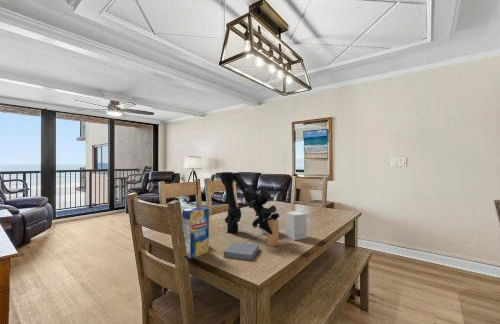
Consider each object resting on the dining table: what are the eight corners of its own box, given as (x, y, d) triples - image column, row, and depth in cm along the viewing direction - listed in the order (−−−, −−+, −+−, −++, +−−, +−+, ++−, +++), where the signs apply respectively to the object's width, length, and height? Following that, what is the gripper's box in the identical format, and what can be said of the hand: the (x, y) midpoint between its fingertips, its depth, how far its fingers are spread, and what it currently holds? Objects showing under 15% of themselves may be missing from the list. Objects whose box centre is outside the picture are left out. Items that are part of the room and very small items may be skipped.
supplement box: (307, 238, 137) (307, 213, 137) (294, 240, 133) (294, 215, 133) (298, 234, 145) (298, 210, 145) (286, 236, 142) (286, 211, 142)
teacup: (275, 229, 156) (275, 214, 156) (275, 236, 141) (275, 220, 141) (257, 228, 157) (257, 213, 157) (256, 235, 142) (256, 219, 142)
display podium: (223, 256, 111) (223, 251, 111) (234, 246, 124) (234, 241, 124) (251, 260, 107) (251, 255, 107) (259, 249, 120) (259, 244, 120)
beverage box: (182, 254, 113) (182, 210, 113) (200, 248, 121) (200, 206, 121) (190, 258, 108) (190, 212, 108) (208, 252, 116) (209, 208, 116)
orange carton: (266, 244, 127) (266, 220, 127) (271, 242, 130) (272, 219, 130) (273, 246, 124) (273, 222, 124) (278, 244, 127) (278, 220, 127)
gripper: (256, 203, 123) (272, 228, 115) (277, 199, 136) (293, 221, 129) (245, 215, 128) (260, 240, 121) (267, 210, 142) (281, 232, 134)
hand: (274, 232), depth 126 cm, fingers closed on orange carton, 5 cm apart
